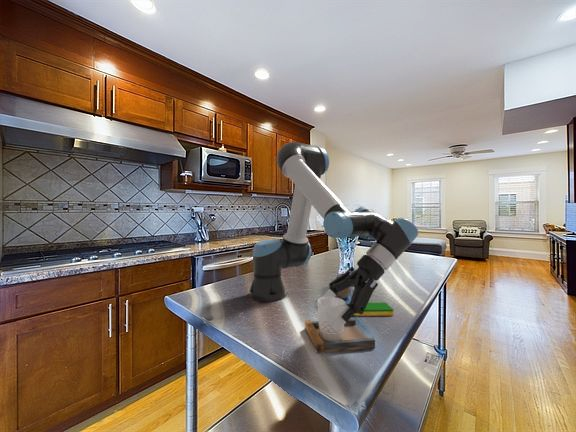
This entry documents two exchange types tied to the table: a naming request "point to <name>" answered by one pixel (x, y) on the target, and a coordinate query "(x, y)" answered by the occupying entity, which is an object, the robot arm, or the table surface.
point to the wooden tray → (350, 340)
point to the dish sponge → (376, 310)
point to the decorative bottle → (343, 291)
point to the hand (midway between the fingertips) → (325, 316)
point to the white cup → (329, 317)
